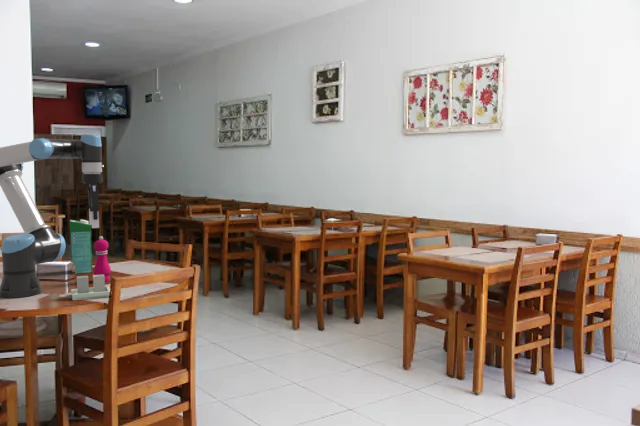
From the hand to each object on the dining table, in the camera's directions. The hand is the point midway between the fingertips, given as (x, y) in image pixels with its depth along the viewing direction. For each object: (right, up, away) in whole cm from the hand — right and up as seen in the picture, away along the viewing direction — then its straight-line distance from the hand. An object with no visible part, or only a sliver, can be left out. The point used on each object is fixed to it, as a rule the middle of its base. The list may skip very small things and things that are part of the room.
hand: (94, 226), depth 239 cm
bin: (+1, -27, -5) cm, 28 cm away
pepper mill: (-5, -25, +24) cm, 35 cm away
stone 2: (+3, -26, -4) cm, 27 cm away
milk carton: (-24, -23, +47) cm, 58 cm away
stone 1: (-2, -27, -6) cm, 27 cm away
